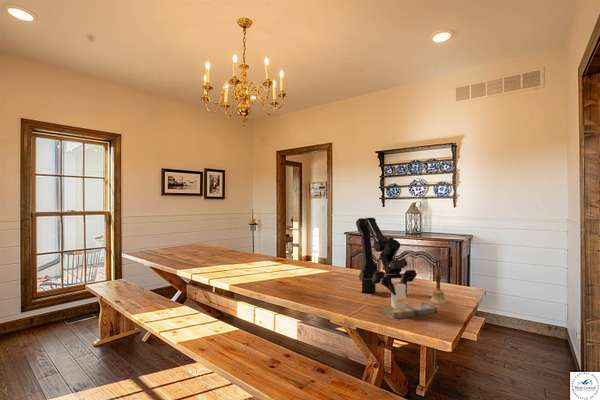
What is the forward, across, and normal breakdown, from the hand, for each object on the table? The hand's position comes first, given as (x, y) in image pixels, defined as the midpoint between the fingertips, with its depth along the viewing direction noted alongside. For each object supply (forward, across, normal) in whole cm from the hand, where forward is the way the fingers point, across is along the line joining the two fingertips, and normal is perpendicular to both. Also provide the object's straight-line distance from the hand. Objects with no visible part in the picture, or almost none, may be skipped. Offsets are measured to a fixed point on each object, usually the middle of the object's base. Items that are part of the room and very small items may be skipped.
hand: (400, 294), depth 132 cm
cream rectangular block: (+3, 0, +6) cm, 6 cm away
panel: (+5, +5, +9) cm, 11 cm away
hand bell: (-3, +26, +16) cm, 31 cm away
